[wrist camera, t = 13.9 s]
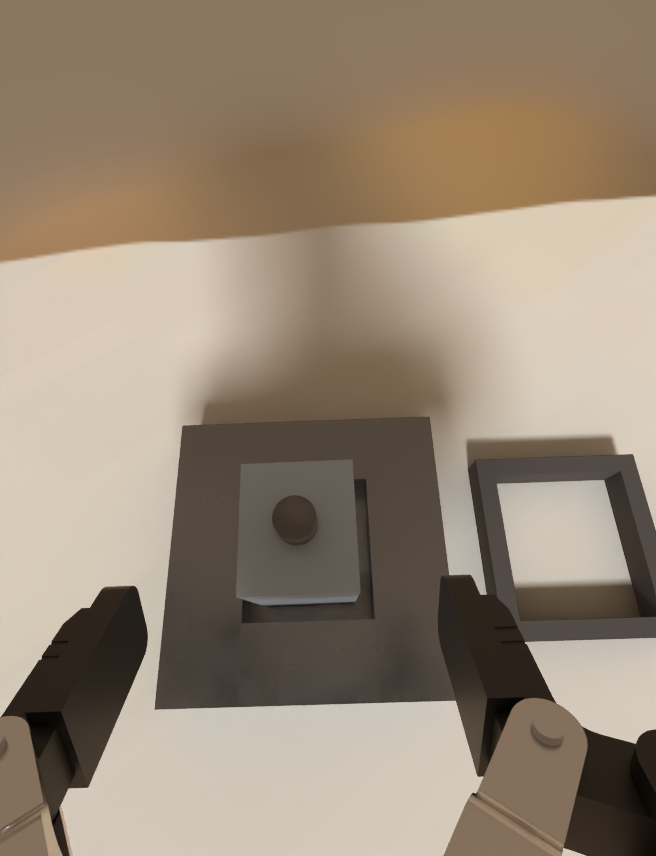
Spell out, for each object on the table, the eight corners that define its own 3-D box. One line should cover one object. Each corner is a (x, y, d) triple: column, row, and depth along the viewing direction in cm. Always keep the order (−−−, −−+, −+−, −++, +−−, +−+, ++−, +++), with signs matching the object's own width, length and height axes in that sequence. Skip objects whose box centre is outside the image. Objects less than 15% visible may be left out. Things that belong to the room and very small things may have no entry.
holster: (494, 641, 21) (504, 642, 20) (468, 469, 25) (475, 459, 23) (664, 636, 21) (687, 636, 20) (616, 464, 24) (632, 454, 23)
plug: (267, 606, 22) (227, 594, 14) (268, 509, 23) (233, 452, 16) (354, 603, 22) (362, 589, 14) (349, 506, 23) (353, 447, 16)
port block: (175, 700, 21) (154, 709, 18) (197, 444, 25) (182, 425, 23) (450, 692, 21) (464, 700, 18) (421, 436, 25) (429, 416, 23)
